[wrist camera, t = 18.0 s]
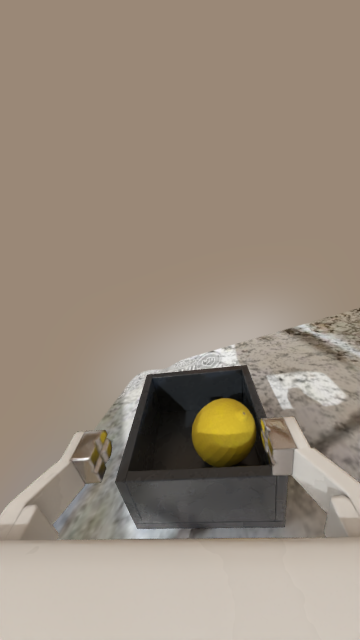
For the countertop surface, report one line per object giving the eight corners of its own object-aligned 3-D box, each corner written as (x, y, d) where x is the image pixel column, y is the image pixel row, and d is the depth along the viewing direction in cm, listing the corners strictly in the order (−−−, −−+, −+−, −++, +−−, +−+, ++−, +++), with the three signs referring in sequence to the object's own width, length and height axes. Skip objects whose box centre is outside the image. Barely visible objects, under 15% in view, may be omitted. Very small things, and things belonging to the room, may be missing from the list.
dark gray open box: (137, 529, 19) (114, 482, 16) (157, 413, 30) (146, 374, 28) (285, 527, 18) (288, 475, 15) (248, 407, 29) (246, 364, 26)
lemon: (201, 491, 20) (247, 464, 15) (171, 434, 23) (201, 396, 18) (237, 458, 23) (284, 428, 19) (207, 412, 26) (241, 376, 21)
